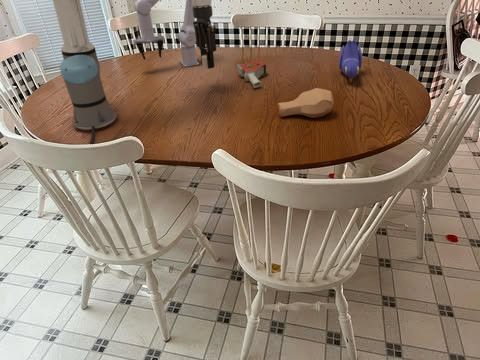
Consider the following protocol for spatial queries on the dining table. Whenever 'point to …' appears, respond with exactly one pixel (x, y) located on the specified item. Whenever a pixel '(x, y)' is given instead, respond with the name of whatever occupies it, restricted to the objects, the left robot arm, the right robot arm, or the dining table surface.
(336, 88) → the dining table surface
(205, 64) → the canister
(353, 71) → the toy
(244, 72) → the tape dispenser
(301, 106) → the squash
